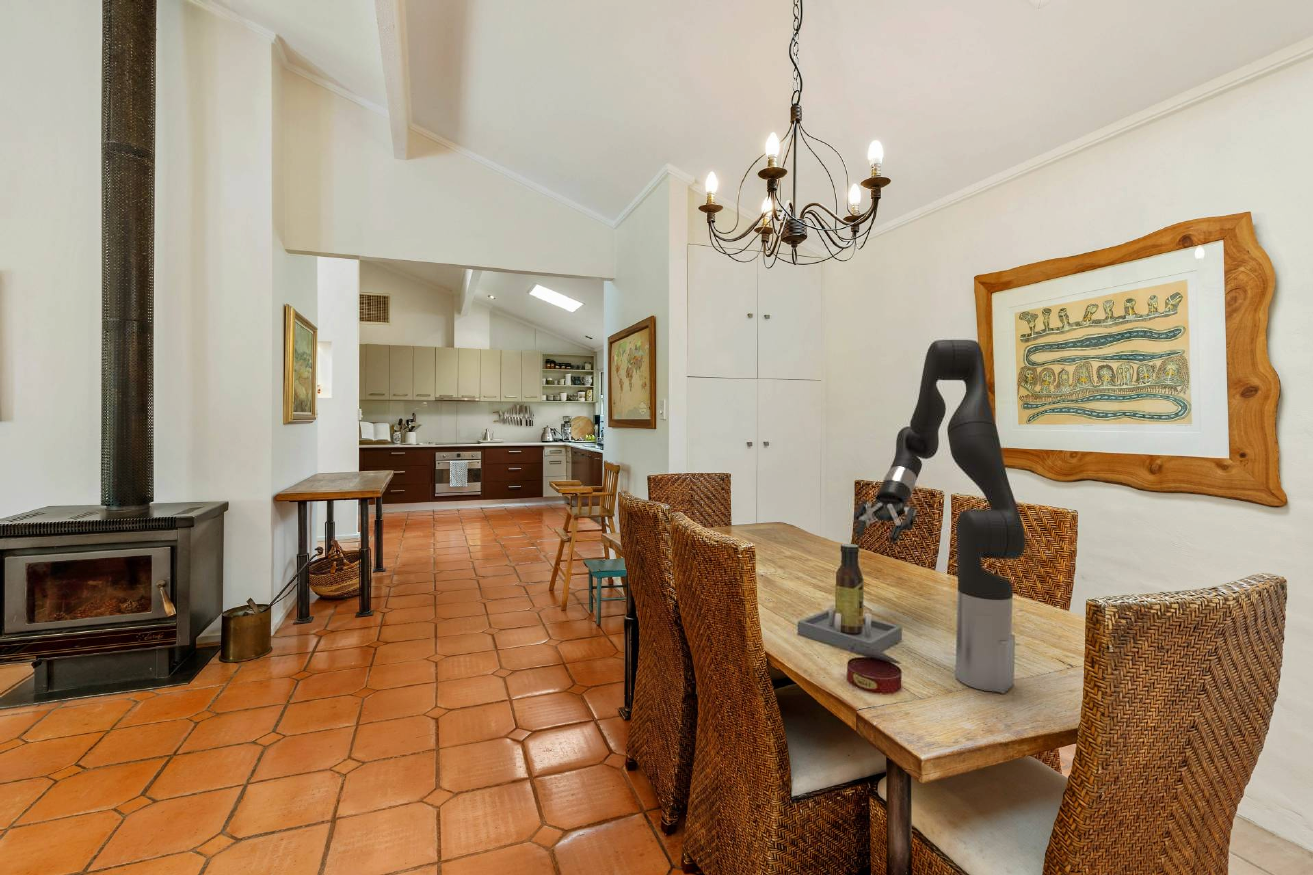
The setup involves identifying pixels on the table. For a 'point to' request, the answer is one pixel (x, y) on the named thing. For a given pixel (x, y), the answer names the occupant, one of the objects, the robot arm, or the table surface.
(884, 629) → the pin tray
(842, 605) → the sauce bottle
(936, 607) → the table surface
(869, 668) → the canned food
